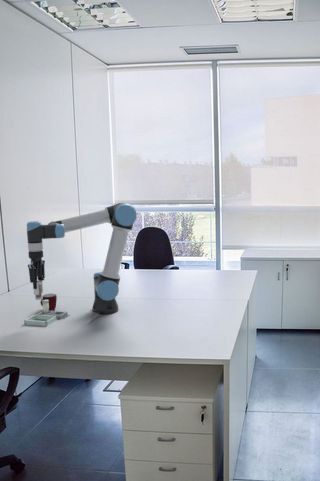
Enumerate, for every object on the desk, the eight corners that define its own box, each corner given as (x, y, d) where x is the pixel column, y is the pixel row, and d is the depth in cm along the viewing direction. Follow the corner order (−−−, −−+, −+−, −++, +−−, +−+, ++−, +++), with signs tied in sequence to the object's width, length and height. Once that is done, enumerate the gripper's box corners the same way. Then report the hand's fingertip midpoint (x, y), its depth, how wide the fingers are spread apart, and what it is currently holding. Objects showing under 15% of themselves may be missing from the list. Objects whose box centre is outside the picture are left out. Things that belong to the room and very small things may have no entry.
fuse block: (70, 316, 269) (70, 311, 269) (63, 321, 262) (63, 315, 262) (42, 315, 275) (42, 310, 274) (35, 319, 267) (34, 314, 267)
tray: (57, 321, 261) (56, 315, 261) (47, 327, 251) (46, 321, 251) (35, 320, 265) (34, 314, 265) (24, 326, 255) (24, 320, 255)
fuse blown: (43, 298, 257) (42, 281, 256) (39, 299, 254) (38, 283, 253) (37, 297, 258) (36, 281, 257) (34, 299, 255) (33, 283, 254)
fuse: (50, 315, 271) (49, 299, 269) (47, 316, 267) (46, 301, 266) (45, 314, 272) (44, 299, 270) (42, 316, 268) (40, 301, 267)
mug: (37, 313, 279) (36, 296, 278) (44, 309, 287) (43, 293, 285) (53, 314, 276) (52, 297, 275) (59, 310, 284) (58, 293, 282)
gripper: (37, 247, 261) (40, 289, 265) (20, 252, 246) (23, 297, 249) (49, 248, 259) (52, 290, 263) (33, 253, 244) (36, 297, 247)
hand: (38, 293), depth 256 cm, fingers closed on fuse blown, 3 cm apart
